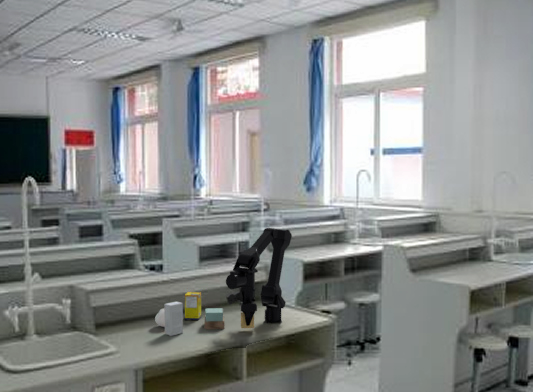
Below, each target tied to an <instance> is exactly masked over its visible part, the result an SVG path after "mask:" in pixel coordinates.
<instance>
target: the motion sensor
mask: <svg viewBox="0 0 533 392" xmlns="http://www.w3.org/2000/svg"><path fill="white" fill-rule="evenodd" d="M154 320H155V323H156V325H158V326H160V327H163V328H165V312H164V308H161V309H159V311H158V313H157V314H156V315H155V318H154Z"/></svg>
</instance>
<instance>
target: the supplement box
mask: <svg viewBox="0 0 533 392" xmlns="http://www.w3.org/2000/svg"><path fill="white" fill-rule="evenodd" d="M201 318H202V292H201V291H187V292H186V293H185V294H184V320H185V321H190V320H191V321H199V320H200V319H201Z"/></svg>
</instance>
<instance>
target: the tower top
mask: <svg viewBox="0 0 533 392" xmlns="http://www.w3.org/2000/svg"><path fill="white" fill-rule="evenodd" d="M205 316H206V321H223V316H224V308H221V307H219V308H216V307H215V308H205Z"/></svg>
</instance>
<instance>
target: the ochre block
mask: <svg viewBox="0 0 533 392" xmlns="http://www.w3.org/2000/svg"><path fill="white" fill-rule="evenodd" d="M240 328H241V329H255V315H254V316H253V318H252V320H251V323H250V325H249V326H247V325H246V320H245V315H244V313H243V312H242V311H241V312H240Z"/></svg>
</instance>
